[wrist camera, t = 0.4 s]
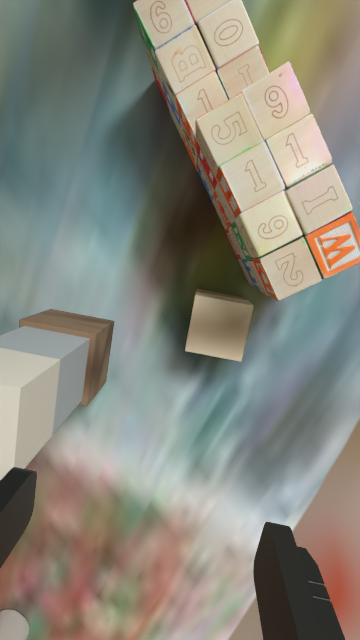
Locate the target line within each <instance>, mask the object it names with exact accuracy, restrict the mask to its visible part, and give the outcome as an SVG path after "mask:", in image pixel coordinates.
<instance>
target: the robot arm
mask: <svg viewBox="0 0 360 640" xmlns="http://www.w3.org/2000/svg"><path fill="white" fill-rule="evenodd" d="M36 478H37V473H36V471H32V470H27V469H22V468H18V467H13V468H12V469H11V470H10V471H9V472H8V473H7V474H6V475H5V476H4V477H3V478H2V480H1V481H0V568H1V566H2V565H3V563H4V562H5V560H6V559H7V557H8V556H9V554H10V552H11V551H12V549H13V548H14V546H15V545H16V543H17V542H18V540H19V539H20V537H21V535H22V534H23V532H24V531H25V529H26V527H27V525H28V523H29V521H30V519H31V516H32V512H33V507H34V498H35V488H36ZM254 583H255V589H256V596H257V602H258V608H259V614H260V621H261V626H262V633H263V639H264V640H345V638H344V635H343V633H342V630H341V627H340V624H339V622H338V619H337V616H336V614H335V611H334V608H333V605H332V603H331V602H330V597H329V595H328V592H327V589H326V587H324V582H323V579H322V576H321V573H320V571H319V568H318V565H317V564H316V562H315V561H314V560H313V558H312V557H311V555H310V554H309V553H308V551H307V550H306V549H305V548H302V547H297V546H296V543H295V540H294V537H293V533H292V530H291V528H290V527H289V526H285V525H280V524H276V523H271V522H266V523H265V525H264V528H263V531H262V535H261V538H260V542H259V545H258V548H257V552H256V555H255V560H254Z"/></svg>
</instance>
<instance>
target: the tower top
mask: <svg viewBox="0 0 360 640" xmlns="http://www.w3.org/2000/svg"><path fill="white" fill-rule="evenodd" d="M60 361H61V360H60V359H55V358H50V357H45V356H40V355H35V354H30V353H25V352H20V351H15V350H10V349H5V348H0V480H2V478H3V477H4V476H5V475H6V474H7V473H8V472H9V471H10V470H11V469H12V468H13V467H18V468H22V469H25V467H26V466H27V465H28V464H29V463H30V461H31V460H32V459H33V458H34V457H35V456H36V454H37V453H38V452H39V451H40V450H41V448H42V447H43V446H44V445H45V444H46V443H47V441H48V440H49V439H50V438H51V437H52V434H53V424H54V415H55V406H56V397H57V388H58V379H59V370H60Z"/></svg>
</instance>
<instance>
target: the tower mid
mask: <svg viewBox="0 0 360 640" xmlns="http://www.w3.org/2000/svg"><path fill="white" fill-rule="evenodd" d="M89 341H90V338H85V337H79V336H74V335H69V334H64V333H59V332H53V331H48V330H43V329H38V328H33V327H27V326H23V327H20V328H18V329H15V330H12V331H10V332H7V333H5V334H2V335H0V348H5V349H10V350H15V351H20V352H25V353H30V354H35V355H40V356H45V357H50V358H55V359H60V360H61V361H60V370H59V379H58V388H57V397H56V406H55V415H54V424H53V434H54V433H55V432H56V431H57V429H58V428H59V427H60V426H61V425H62V423H63V422H64V421H65V420H66V419H67V418H68V416H69V415H70V414H71V413H72V412H73V410H74V409H75V408H76V407H77V406H78V405H79V403H80V402H81V401H82V397H83V389H84V381H85V373H86V365H87V357H88V349H89ZM53 434H52V435H53Z"/></svg>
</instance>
